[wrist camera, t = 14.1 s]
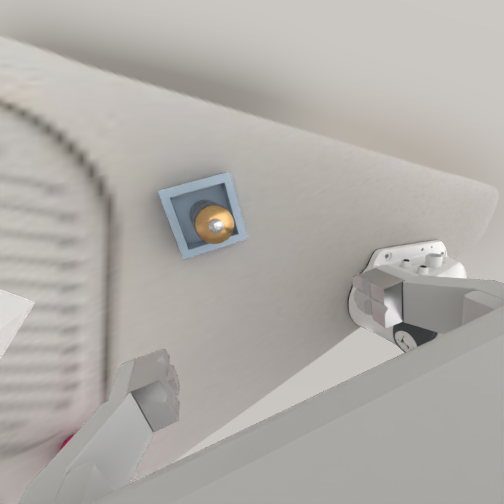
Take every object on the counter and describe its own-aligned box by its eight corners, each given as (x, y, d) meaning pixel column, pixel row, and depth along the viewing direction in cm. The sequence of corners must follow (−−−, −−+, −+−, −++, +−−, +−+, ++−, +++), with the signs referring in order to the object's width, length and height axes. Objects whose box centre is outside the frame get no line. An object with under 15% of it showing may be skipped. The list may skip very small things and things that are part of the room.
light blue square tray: (224, 172, 31) (230, 171, 28) (241, 233, 34) (247, 238, 31) (159, 189, 29) (157, 191, 26) (182, 252, 32) (183, 260, 29)
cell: (216, 196, 30) (230, 200, 23) (224, 225, 32) (240, 239, 24) (185, 203, 30) (189, 211, 22) (194, 234, 31) (202, 251, 23)
